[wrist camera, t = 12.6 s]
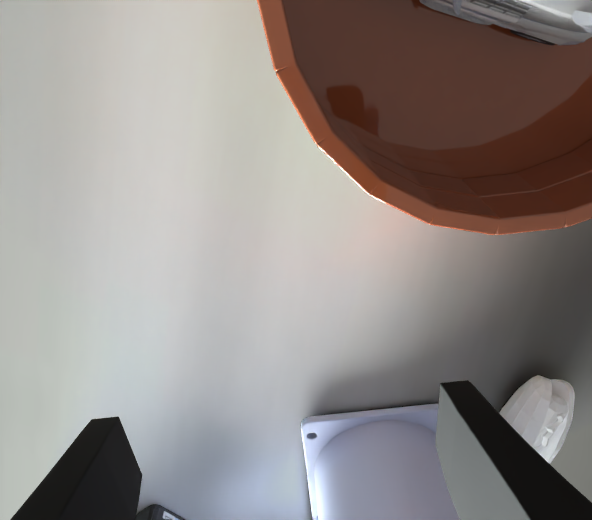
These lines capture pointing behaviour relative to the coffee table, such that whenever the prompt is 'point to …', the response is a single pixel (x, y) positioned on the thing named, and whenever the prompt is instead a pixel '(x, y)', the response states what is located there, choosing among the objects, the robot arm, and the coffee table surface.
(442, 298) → the coffee table surface
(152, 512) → the vhs tape
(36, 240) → the coffee table surface
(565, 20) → the toy car
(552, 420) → the white faceted piece
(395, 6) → the bowl
